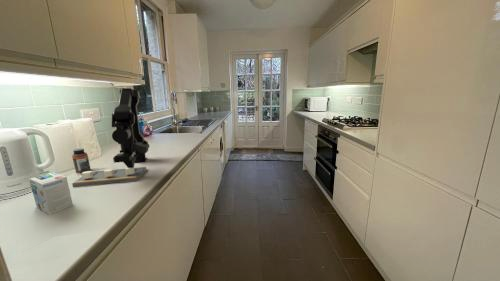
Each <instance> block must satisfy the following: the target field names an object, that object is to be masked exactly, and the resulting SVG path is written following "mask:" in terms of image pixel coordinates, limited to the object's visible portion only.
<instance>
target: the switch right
mask: <svg viewBox="0 0 500 281" xmlns="http://www.w3.org/2000/svg"><path fill="white" fill-rule="evenodd" d="M92 171H93V170H88V171H86V172H81V177H83V179H88V178H92V177H93V174H92Z"/></svg>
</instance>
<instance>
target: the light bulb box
mask: <svg viewBox="0 0 500 281" xmlns="http://www.w3.org/2000/svg"><path fill="white" fill-rule="evenodd" d="M28 182H29V184H30V187H31V191H32V195H33V197H34V202H35V206H36V208H38V209H39V210H41V211H43V212H44V213H45V214H47V215H52V214H55V213H58V212H59V211H63V210H65V209H67V208H70V207H72V206H74V204H73V203H74V202H73V199H72V195H71V190H70V187H69V183H68V182H69V181H68V178H67V176H65V175H62V174H59V173H57V172H54V171H53V172H49V173H48V172H47V173H45V174H41V175H38V176H34V177H30V178H29V179H28Z"/></svg>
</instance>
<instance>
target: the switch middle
mask: <svg viewBox="0 0 500 281" xmlns="http://www.w3.org/2000/svg"><path fill="white" fill-rule="evenodd" d="M113 169H114V168H111V169H104V170H105V171H104V177H111V176H113V175H114V172H113Z"/></svg>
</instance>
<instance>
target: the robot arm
mask: <svg viewBox="0 0 500 281" xmlns="http://www.w3.org/2000/svg"><path fill="white" fill-rule="evenodd" d="M119 97H120V98H119V102H118V106H116V107H115V108H114V109H113V112H112V113H111V128H115V130H114V131H112V135H111V138H112V139H113V140H112V141H114V142H116V143H118V145H120V150H119V153H117V154H116V155H115V156H113V157H112V160H113V163H115V164H116V163H123V164H124V165H125V166H126V168H131V167H134V168H135V163H144V162H146V161H147V160H148V159H149V158H148V157H146V154H147V153H148V151H149V148H150V143H149V142H148V140H146V139H145V137H144V135H143V134H142V133H141V128H140V122H139V121H140V120H139V114H138V105H139V103H140V99H141V95H140V91H139V90H138V89H134V88H130V87H127V88H126V87H123V88H120V89H119Z"/></svg>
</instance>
